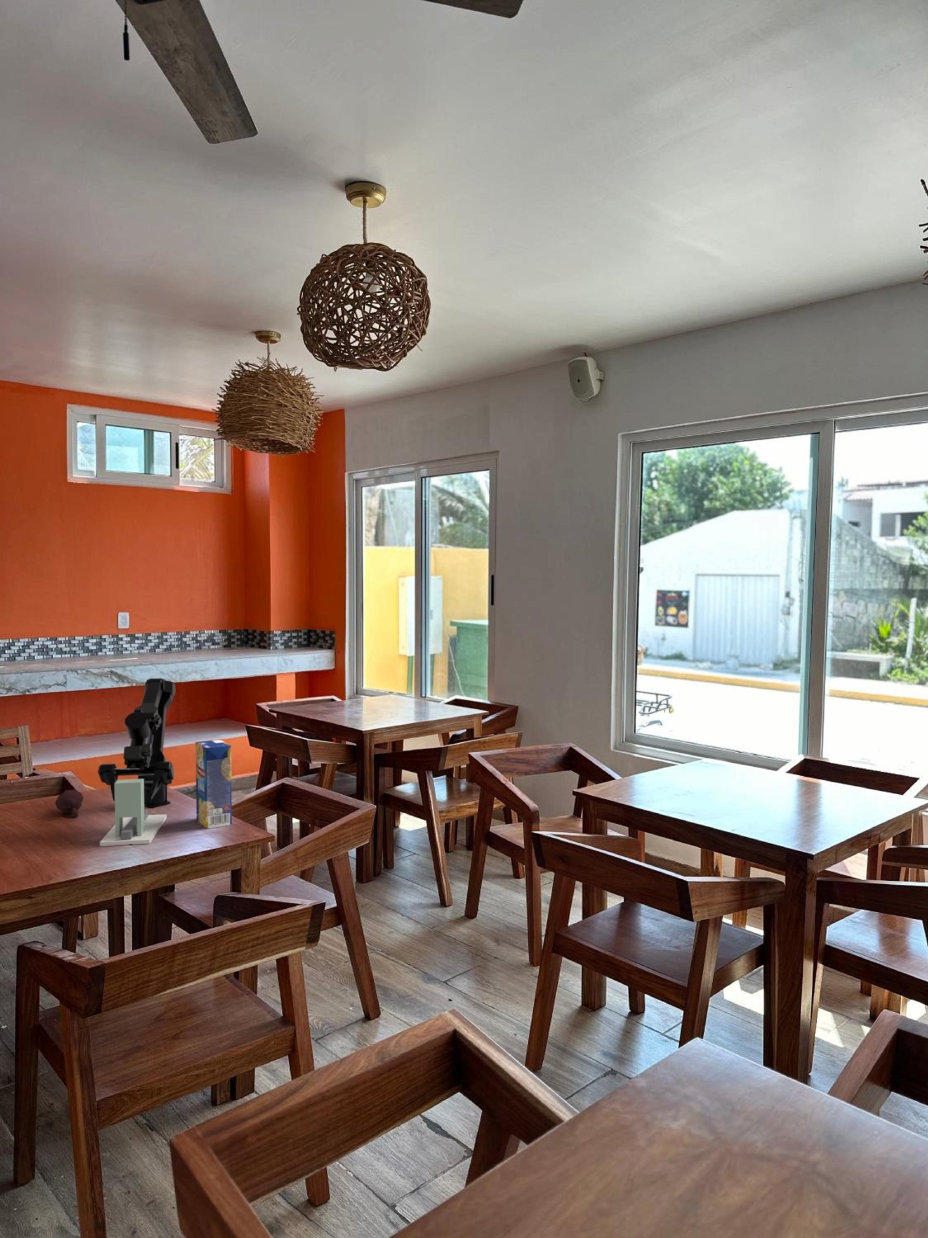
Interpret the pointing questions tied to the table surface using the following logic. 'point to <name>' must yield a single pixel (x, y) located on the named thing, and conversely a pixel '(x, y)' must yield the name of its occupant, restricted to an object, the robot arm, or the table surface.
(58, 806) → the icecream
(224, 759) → the beverage box
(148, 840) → the rail
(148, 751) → the robot arm
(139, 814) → the clip
